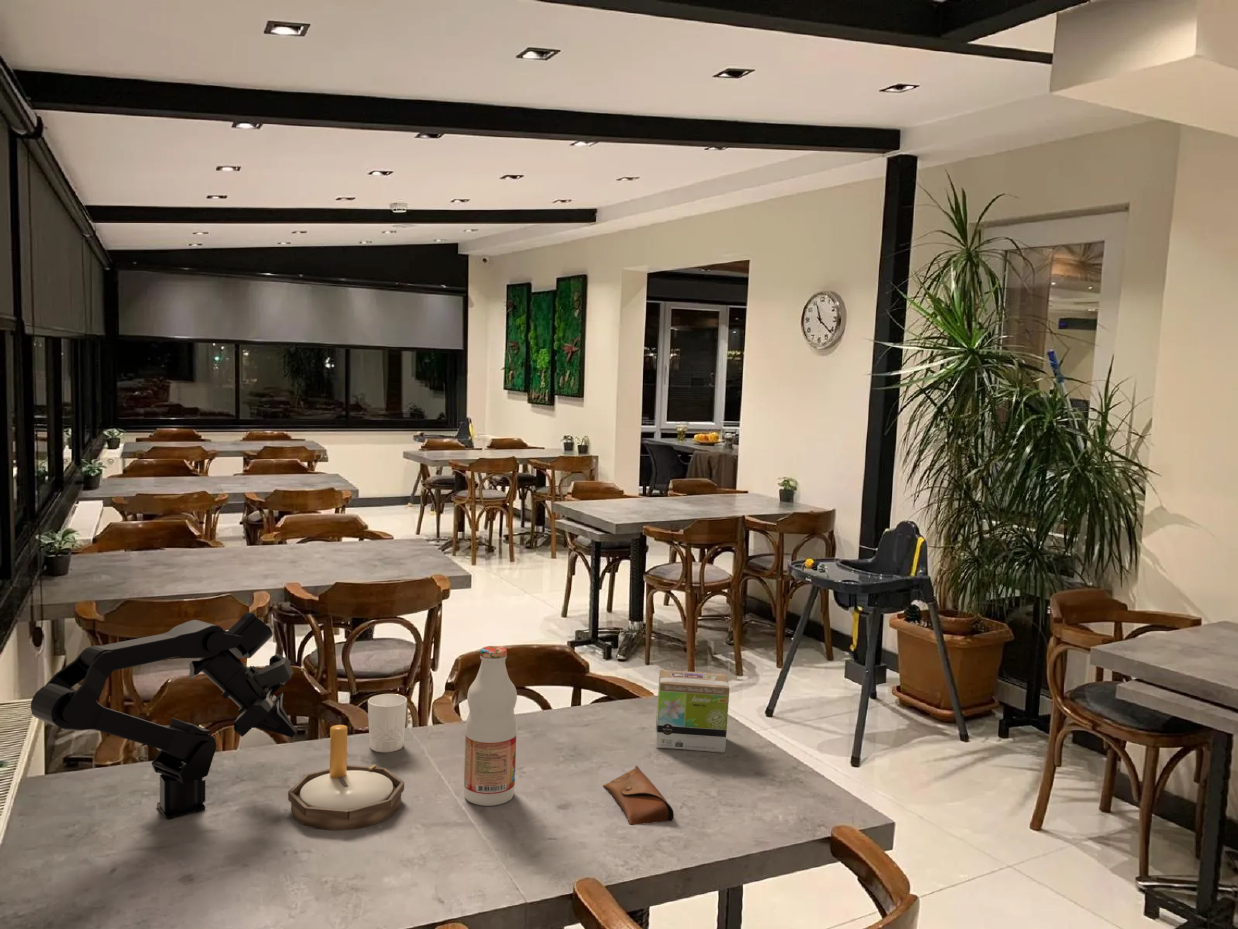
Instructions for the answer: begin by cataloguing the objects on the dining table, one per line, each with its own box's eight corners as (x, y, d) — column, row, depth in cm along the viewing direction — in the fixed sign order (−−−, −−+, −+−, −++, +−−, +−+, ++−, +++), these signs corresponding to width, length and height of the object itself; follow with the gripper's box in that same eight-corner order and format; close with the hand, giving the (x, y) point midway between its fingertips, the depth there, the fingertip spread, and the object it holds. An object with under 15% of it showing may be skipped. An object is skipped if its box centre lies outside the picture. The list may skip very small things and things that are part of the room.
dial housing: (316, 841, 158) (316, 819, 158) (274, 799, 173) (275, 779, 173) (419, 811, 171) (420, 791, 170) (372, 774, 185) (373, 756, 185)
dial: (321, 821, 160) (322, 765, 160) (286, 788, 173) (286, 735, 172) (408, 798, 171) (409, 744, 170) (369, 767, 183) (370, 718, 182)
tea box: (655, 750, 204) (658, 682, 202) (655, 732, 214) (658, 668, 212) (726, 754, 203) (729, 686, 202) (722, 736, 213) (726, 671, 212)
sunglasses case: (598, 784, 185) (616, 753, 186) (627, 798, 188) (644, 769, 188) (630, 826, 168) (649, 793, 169) (661, 842, 171) (680, 809, 171)
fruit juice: (453, 794, 178) (457, 647, 176) (493, 781, 185) (498, 639, 182) (484, 812, 171) (489, 659, 169) (524, 797, 178) (529, 650, 176)
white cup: (400, 755, 195) (401, 707, 194) (362, 753, 196) (363, 705, 195) (409, 740, 203) (410, 694, 202) (373, 738, 203) (373, 692, 202)
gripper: (254, 660, 164) (319, 722, 167) (275, 632, 182) (334, 688, 185) (205, 705, 163) (271, 767, 166) (231, 672, 182) (290, 728, 185)
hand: (294, 735), depth 176 cm, fingers closed
